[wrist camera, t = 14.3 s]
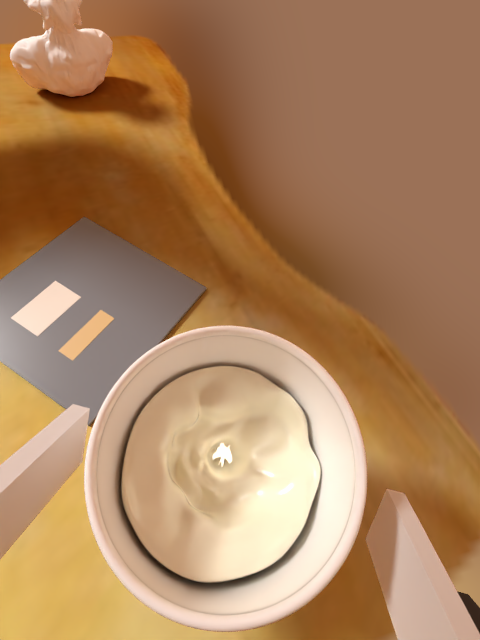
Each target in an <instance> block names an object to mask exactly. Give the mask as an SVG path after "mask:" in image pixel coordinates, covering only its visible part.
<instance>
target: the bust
mask: <svg viewBox="0 0 480 640" xmlns="http://www.w3.org/2000/svg"><path fill="white" fill-rule="evenodd" d="M23 1H24V2H25V4H26V5H28V7H29V8H30V9H31V10H34V11H37V12H38V13H40V14H41V15H42V18H43V28H44V30H46V32H45V33H44V34H43V35H42V36H36V37H34V36H33V37H30V38H26V39H23V40H20V41H18V42H17V43H16V44H15V46H14V47H13V48H12V50H11V52H10V59H11V61H12V63H13V66H14V68H15V69H16V70H17V72H18V73H19V74H20V76H21V77H22V78H23V79H24V80H25V82H26V83H27V84H28V85H30V86H31V87H33V88H37V89H47V90H49V91H50V92H53V93H58V94H62V95H66V96H70V97H75V96H84V95H85V94H88V93H91V92H93V91H94V90H95V89H96V87H97V86H98V85H100V84H101V83H102V82H103V81H104V77H105V72H106V70H107V67H108V64H109V61H110V58H111V57H112V41H111V39H110V38H109V36H108V35H106V34H105V33H104V32H102V31H100V30H98V29H81V30H77V29H76V28H75V26H74V23H76V24H78V25H82V22H81V18H80V13H79V10H78V9H79V7H80V5H81V3H82V0H23Z"/></svg>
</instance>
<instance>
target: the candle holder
mask: <svg viewBox="0 0 480 640" xmlns="http://www.w3.org/2000/svg"><path fill="white" fill-rule="evenodd" d="M84 488H85V499H86V506H87V512H88V517H89V521H90V524H91V528H92V531H93V534H94V537H95V539H96V542H97V544H98V546H99V548H100V551H101V553H102V555H103V556H104V558H105V560H106V562H107V563H108V565H109V567H110V568H111V570H112V571H113V573H114V574H115V575H116V577H117V578H118V579H119V580H120V582H121V583H122V584H123V585H124V586H125V587H126V588H127V589H128V590H129V591H130V592H131V593H132V594H133V595H134V596H135V597H136V598H137V599H138V600H139V601H141V602H142V603H143V604H144V605H146V606H147V607H149V608H150V609H152V610H153V611H155V612H156V613H158V614H160V615H161V616H163V617H165V618H167V619H169V620H172V621H174V622H176V623H179V624H182V625H185V626H188V627H191V628H195V629H200V630H206V631H214V632H236V631H245V630H251V629H255V628H259V627H263V626H266V625H269V624H272V623H274V622H277V621H279V620H281V619H283V618H285V617H287V616H289V615H291V614H293V613H294V612H296V611H298V610H299V609H301V608H302V607H303V606H305V605H306V604H307V603H309V602H310V601H311V600H312V599H314V598H315V597H316V596H317V595H318V594H319V593H320V592H321V591H322V590H323V589H324V588H325V587H326V586H327V585H328V584H329V583H330V581H331V580H332V579H333V578H334V576H335V575H336V574H337V572H338V571H339V570H340V568H341V567H342V565H343V563H344V562H345V560H346V558H347V557H348V555H349V553H350V551H351V549H352V547H353V544H354V542H355V540H356V537H357V534H358V532H359V529H360V525H361V522H362V518H363V514H364V509H365V503H366V495H367V462H366V454H365V448H364V443H363V439H362V435H361V431H360V428H359V425H358V422H357V419H356V417H355V415H354V412H353V410H352V408H351V406H350V404H349V402H348V400H347V398H346V397H345V395H344V393H343V392H342V390H341V389H340V387H339V386H338V384H337V383H336V382H335V380H334V379H333V378H332V376H331V375H330V374H329V373H328V372H327V371H326V370H325V369H324V368H323V367H322V366H321V365H320V364H319V363H318V362H317V361H316V360H315V359H314V358H313V357H311V356H310V355H309V354H308V353H306V352H305V351H304V350H302V349H301V348H299V347H298V346H296V345H294V344H293V343H291V342H289V341H287V340H285V339H283V338H281V337H279V336H276V335H274V334H271V333H268V332H265V331H262V330H258V329H254V328H249V327H242V326H211V327H204V328H199V329H195V330H191V331H187V332H184V333H181V334H179V335H176V336H174V337H172V338H169V339H167V340H165V341H164V342H162V343H160V344H158V345H157V346H155V347H153V348H152V349H150V350H149V351H148V352H146V353H145V354H144V355H142V356H141V357H140V358H139V359H137V360H136V361H135V362H134V363H133V364H132V365H131V366H130V367H129V368H128V369H127V370H126V371H125V372H124V373H123V375H122V376H121V377H120V378H119V379H118V381H117V382H116V383H115V385H114V386H113V387H112V389H111V390H110V392H109V394H108V395H107V397H106V399H105V400H104V402H103V404H102V406H101V408H100V410H99V412H98V415H97V417H96V420H95V422H94V425H93V428H92V431H91V434H90V438H89V442H88V447H87V452H86V459H85V471H84Z"/></svg>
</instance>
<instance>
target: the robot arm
mask: <svg viewBox="0 0 480 640" xmlns="http://www.w3.org/2000/svg"><path fill="white" fill-rule="evenodd" d="M89 411H90V408H86V407H82V406H79V405H75V404H72V405H71V406H70V407H69V408H68V409H66V410H65V411H64V412H63V413H62V414H60V415H59V416H58V417H57V418H56V419H54V420H53V421H52V422H51V423H50V424H49V425H47V426H46V427H45V428H44V429H43V430H41V431H40V432H39V433H38V434H37V435H35V436H34V437H33V438H32V439H31V440H30V441H28V442H27V443H26V444H25V445H24V446H22V447H21V448H20V449H19V450H18V451H16V452H15V453H14V454H13V455H12V456H11V457H9V458H8V459H7V460H6V461H5V462H3V463H2V464H1V465H0V559H1V558H2V557H3V556H4V554H5V553H6V552H7V551H8V550H9V548H10V547H11V546H12V545H13V544H14V542H15V541H16V540H17V539H18V538H19V536H20V535H21V534H22V533H23V532H24V531H25V529H26V528H27V527H28V526H29V525H30V523H31V522H32V521H33V520H34V519H35V517H36V516H37V515H38V514H39V513H40V511H41V510H42V509H43V508H44V507H45V505H46V504H47V503H48V502H49V501H50V499H51V498H52V497H53V496H54V495H55V494H56V492H57V491H58V490H59V489H60V488H61V486H62V485H63V484H64V483H65V482H66V480H67V479H68V478H69V477H70V476H71V474H72V473H73V472H74V471H75V470H76V468H77V467H78V466H79V465H80V464H81V462H82V459H83V452H84V445H85V439H86V432H87V425H88V418H89ZM365 540H366V543H367V546H368V549H369V552H370V555H371V558H372V562H373V565H374V568H375V571H376V574H377V577H378V580H379V583H380V586H381V589H382V593H383V596H384V599H385V602H386V605H387V608H388V611H389V614H390V617H391V621H392V624H393V627H394V630H395V633H396V636H397V639H398V640H480V608H479V607H478V606H477V604H476V603H475V602H474V601H473V600H472V599H471V597H470V596H469V595H468V594H464V593H461V592H457V590H456V588H455V587H454V585H453V583H452V581H451V579H450V577H449V575H448V573H447V572H446V570H445V568H444V566H443V564H442V562H441V560H440V559H439V557H438V555H437V553H436V551H435V549H434V547H433V545H432V544H431V542H430V540H429V538H428V536H427V534H426V532H425V530H424V529H423V527H422V525H421V523H420V521H419V519H418V517H417V516H416V514H415V512H414V510H413V508H412V506H411V504H410V502H409V501H408V499H407V497H406V495H405V493H402V492H398V491H395V490H391V489H386V492H385V494H384V496H383V499H382V501H381V503H380V506H379V508H378V510H377V513H376V515H375V517H374V520H373V522H372V524H371V527H370V529H369V531H368V534H367V536H366V538H365Z"/></svg>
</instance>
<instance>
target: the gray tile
mask: <svg viewBox="0 0 480 640" xmlns="http://www.w3.org/2000/svg"><path fill="white" fill-rule="evenodd" d="M206 288H207V287H205V286H203V285H201V284H200V283H198V282H196V281H194V280H193V279H191V278H189V277H188V276H186V275H184V274H182V273H181V272H179V271H177V270H176V269H174V268H172V267H170V266H169V265H167V264H165V263H163V262H162V261H160V260H158V259H157V258H155V257H153V256H151V255H150V254H148V253H146V252H144V251H143V250H141V249H139V248H138V247H136V246H134V245H132V244H131V243H129V242H127V241H126V240H124V239H122V238H120V237H119V236H117V235H115V234H113V233H112V232H110V231H108V230H107V229H105V228H103V227H101V226H100V225H98V224H96V223H95V222H93V221H91V220H89V219H88V218H86V217H83V218H82V219H80V220H79V221H78V222H76V223H75V224H74V225H72V226H71V227H70V228H68V229H67V230H66V231H64V232H63V233H62V234H60V235H59V236H58V237H56V238H55V239H54V240H52V241H51V242H50V243H48V244H47V245H46V246H45V247H43V248H42V249H41V250H39V251H38V252H37V253H35V254H34V255H33V256H31V257H30V258H29V259H27V260H26V261H25V262H23V263H22V264H21V265H19V266H18V267H17V268H15V269H14V270H13V271H11V272H10V273H9V274H7V275H6V276H5V277H3V278H2V279H1V280H0V361H1V362H2V363H3V364H5V365H6V366H7V367H9V368H10V369H12V370H13V371H14V372H16V373H17V374H18V375H20V376H21V377H22V378H24V379H25V380H27V381H28V382H29V383H31V384H32V385H33V386H35V387H36V388H38V389H39V390H40V391H42V392H43V393H44V394H46V395H47V396H49V397H50V398H51V399H53V400H54V401H55V402H57V403H58V404H60V405H61V406H62V407H64V408H65V409H68V408H69V407H70V406H71V405H72V404H75V405H79V406H82V407H86V408H90V411H89V418H88V426H90V425H91V424H92V423H93V422H94V420H95V419H96V417H97V415H98V412H99V410H100V408H101V406H102V404H103V402H104V400H105V399H106V397H107V395H108V394H109V392H110V390H111V389H112V387H113V386H114V385H115V383H116V382H117V381H118V379H119V378H120V377H121V376H122V375H123V373H124V372H125V371H126V370H127V369H128V368H129V367H130V366H131V365H132V364H133V363H134V362H135V361H136V360H137V359H139V358H140V357H141V356H142V355H144V354H145V353H146V352H148V351H149V350H150V349H152V348H153V347H155V346H157V345H158V344H160V343H161V342H162V341H163V340H164V339H165V337H166V336H167V335H168V334H169V333H170V332H171V330H172V329H173V328H174V327H175V326H176V325H177V323H178V322H179V321H180V320H181V319H182V317H183V316H184V315H185V314H186V313H187V312H188V310H189V309H190V308H191V307H192V306H193V305H194V303H195V302H196V301H197V300H198V299H199V298H200V296H201V295H202V294H203V293H204V292H205V291H206Z"/></svg>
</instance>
